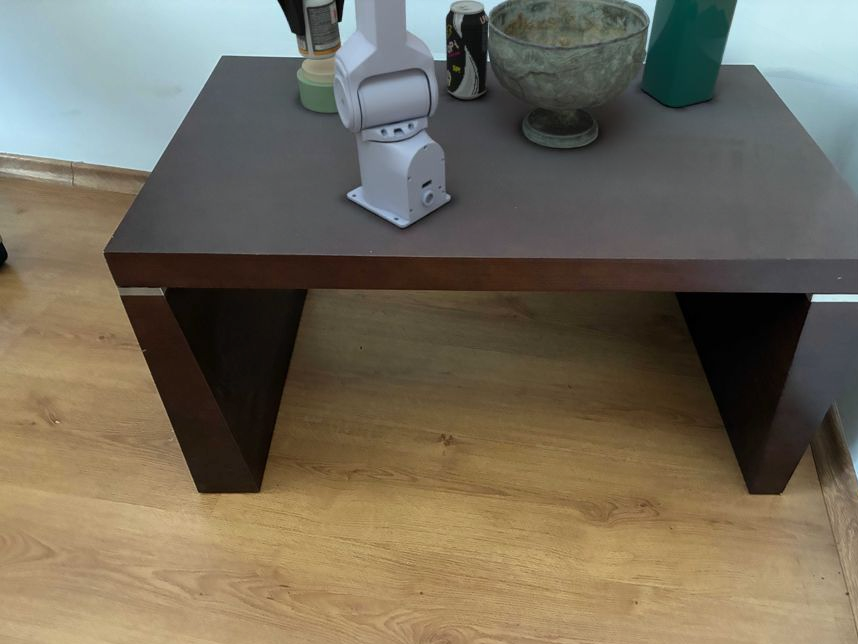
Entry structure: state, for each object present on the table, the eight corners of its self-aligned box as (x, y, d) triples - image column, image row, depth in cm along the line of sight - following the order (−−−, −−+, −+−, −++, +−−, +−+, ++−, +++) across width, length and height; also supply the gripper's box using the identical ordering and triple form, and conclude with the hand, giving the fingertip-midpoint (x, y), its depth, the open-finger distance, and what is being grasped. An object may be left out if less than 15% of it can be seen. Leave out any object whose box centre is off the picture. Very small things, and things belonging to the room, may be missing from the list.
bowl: (580, 86, 104) (593, -25, 94) (660, 145, 92) (686, 25, 81) (458, 113, 98) (457, -3, 87) (526, 180, 86) (535, 55, 75)
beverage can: (439, 89, 103) (437, 2, 95) (474, 81, 105) (475, -5, 97) (459, 105, 100) (458, 16, 91) (494, 96, 102) (496, 8, 93)
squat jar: (377, 97, 101) (374, 62, 98) (329, 119, 97) (324, 83, 93) (336, 79, 106) (332, 45, 102) (287, 99, 101) (281, 64, 97)
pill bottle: (345, 45, 97) (336, -35, 90) (336, 62, 93) (326, -20, 86) (304, 43, 97) (292, -36, 90) (293, 60, 93) (280, -21, 86)
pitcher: (634, 86, 104) (664, -85, 88) (682, 76, 107) (719, -93, 91) (675, 115, 98) (715, -65, 82) (724, 103, 100) (772, -73, 85)
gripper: (326, -110, 89) (339, 4, 98) (228, -88, 81) (252, 34, 91) (364, -101, 86) (374, 17, 95) (265, -76, 78) (287, 49, 87)
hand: (317, 26), depth 93 cm, fingers closed on pill bottle, 5 cm apart
